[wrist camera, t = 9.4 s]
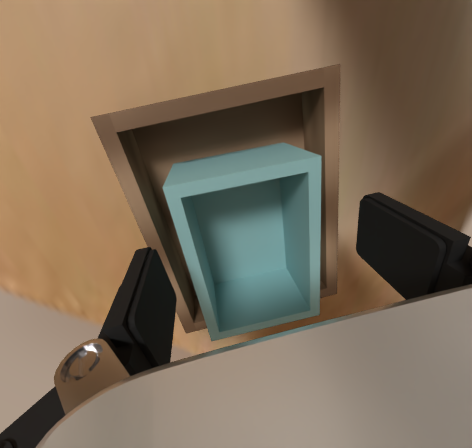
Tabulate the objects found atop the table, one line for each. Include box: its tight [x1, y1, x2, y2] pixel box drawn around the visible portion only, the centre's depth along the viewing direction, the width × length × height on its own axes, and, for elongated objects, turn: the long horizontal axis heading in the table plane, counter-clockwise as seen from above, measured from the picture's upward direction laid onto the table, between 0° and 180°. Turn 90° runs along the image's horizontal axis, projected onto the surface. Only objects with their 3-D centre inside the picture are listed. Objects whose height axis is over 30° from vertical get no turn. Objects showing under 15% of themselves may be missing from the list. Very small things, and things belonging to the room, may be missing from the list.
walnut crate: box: [91, 64, 340, 333], centre depth 15 cm, size 15×12×4 cm
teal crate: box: [162, 142, 321, 341], centre depth 14 cm, size 10×7×5 cm
